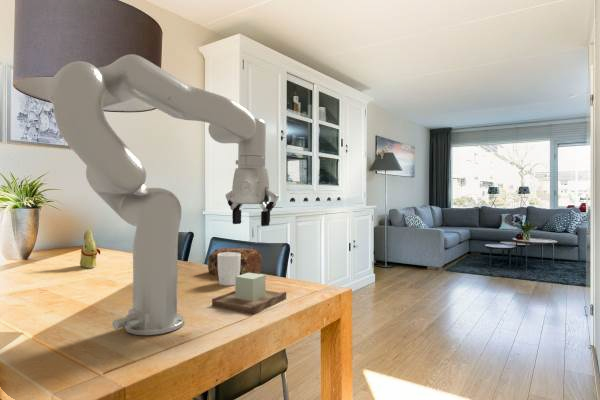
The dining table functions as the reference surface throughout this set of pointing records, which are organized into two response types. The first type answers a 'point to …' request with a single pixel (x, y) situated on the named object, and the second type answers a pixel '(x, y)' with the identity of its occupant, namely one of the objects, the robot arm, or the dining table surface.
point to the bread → (249, 260)
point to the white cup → (228, 267)
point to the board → (248, 302)
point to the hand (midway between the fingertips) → (250, 224)
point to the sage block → (250, 286)
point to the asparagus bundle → (88, 251)
